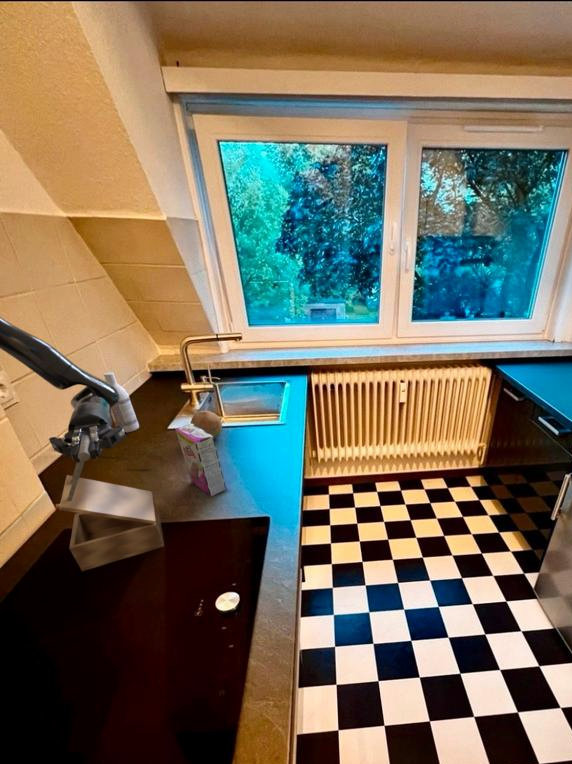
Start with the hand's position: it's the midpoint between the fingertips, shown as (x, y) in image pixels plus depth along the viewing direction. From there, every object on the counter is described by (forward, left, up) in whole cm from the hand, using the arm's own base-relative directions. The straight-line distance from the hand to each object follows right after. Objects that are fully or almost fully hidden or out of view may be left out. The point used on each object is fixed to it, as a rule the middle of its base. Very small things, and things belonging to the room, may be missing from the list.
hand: (85, 456), depth 72 cm
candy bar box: (+25, +7, -23) cm, 35 cm away
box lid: (+1, +3, -12) cm, 13 cm away
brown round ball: (+42, +32, -23) cm, 58 cm away
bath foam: (+29, +62, -23) cm, 73 cm away
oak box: (+1, +3, -23) cm, 23 cm away
